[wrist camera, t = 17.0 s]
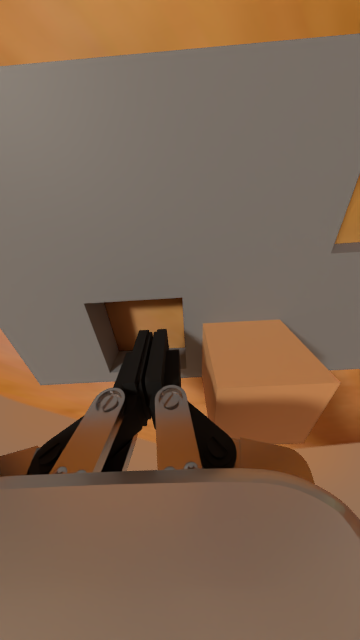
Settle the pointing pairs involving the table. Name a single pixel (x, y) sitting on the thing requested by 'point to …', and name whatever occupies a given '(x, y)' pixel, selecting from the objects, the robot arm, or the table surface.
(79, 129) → the plate
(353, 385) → the table surface
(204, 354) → the block
